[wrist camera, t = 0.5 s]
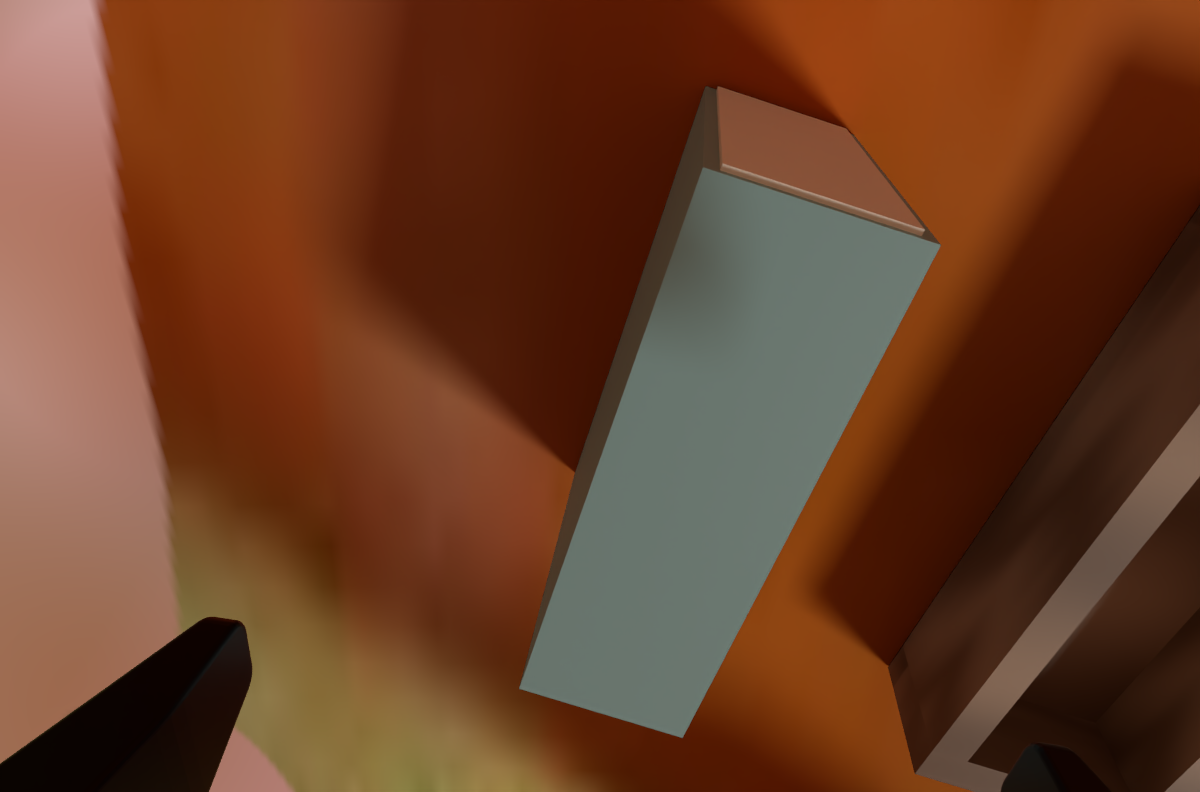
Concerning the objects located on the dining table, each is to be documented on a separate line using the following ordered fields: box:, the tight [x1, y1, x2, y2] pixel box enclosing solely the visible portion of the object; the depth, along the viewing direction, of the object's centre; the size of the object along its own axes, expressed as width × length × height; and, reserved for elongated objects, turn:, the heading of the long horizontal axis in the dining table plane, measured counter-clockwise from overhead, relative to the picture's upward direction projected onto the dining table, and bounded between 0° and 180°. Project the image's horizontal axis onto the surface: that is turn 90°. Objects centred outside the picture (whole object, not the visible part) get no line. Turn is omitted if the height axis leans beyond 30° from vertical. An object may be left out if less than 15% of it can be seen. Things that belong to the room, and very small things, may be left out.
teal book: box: [519, 86, 941, 738], centre depth 18 cm, size 11×4×8 cm, turn 164°
